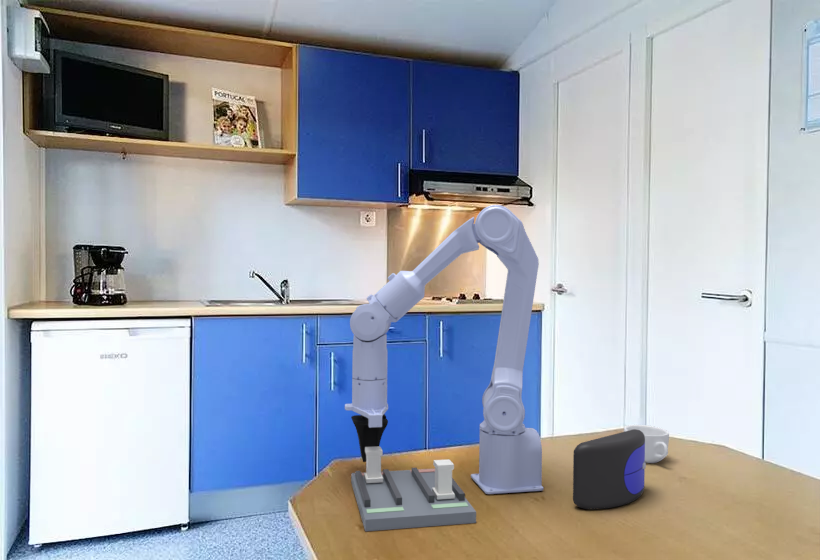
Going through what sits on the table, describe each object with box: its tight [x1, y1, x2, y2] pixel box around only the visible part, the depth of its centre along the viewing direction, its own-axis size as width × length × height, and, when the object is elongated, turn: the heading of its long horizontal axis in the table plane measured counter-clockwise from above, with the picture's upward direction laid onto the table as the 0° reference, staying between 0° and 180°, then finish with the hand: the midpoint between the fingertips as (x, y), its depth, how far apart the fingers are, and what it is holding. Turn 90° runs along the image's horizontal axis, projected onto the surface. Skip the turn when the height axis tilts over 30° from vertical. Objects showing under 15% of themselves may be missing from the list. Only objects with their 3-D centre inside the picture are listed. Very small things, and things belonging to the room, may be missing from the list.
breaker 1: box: [363, 445, 384, 483], centre depth 89 cm, size 3×3×5 cm
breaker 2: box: [432, 459, 455, 500], centre depth 83 cm, size 3×3×5 cm
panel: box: [350, 467, 477, 532], centre depth 85 cm, size 15×18×2 cm
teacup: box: [623, 424, 670, 464], centre depth 105 cm, size 10×8×5 cm
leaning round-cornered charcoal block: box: [572, 429, 647, 510], centre depth 86 cm, size 16×5×9 cm, turn 127°
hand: (368, 460), depth 94 cm, fingers closed
